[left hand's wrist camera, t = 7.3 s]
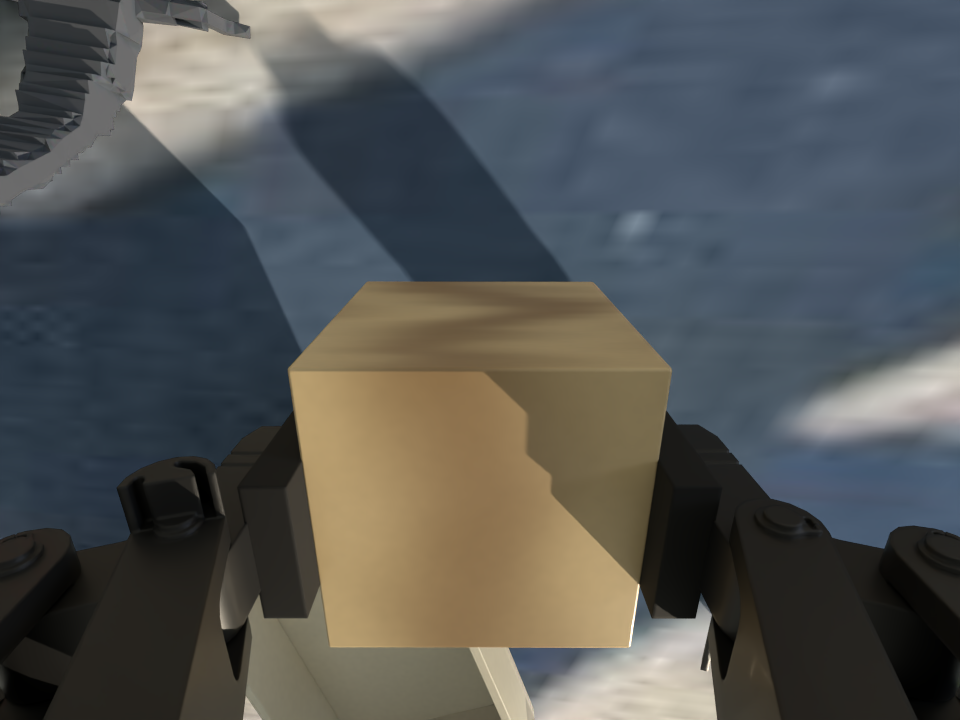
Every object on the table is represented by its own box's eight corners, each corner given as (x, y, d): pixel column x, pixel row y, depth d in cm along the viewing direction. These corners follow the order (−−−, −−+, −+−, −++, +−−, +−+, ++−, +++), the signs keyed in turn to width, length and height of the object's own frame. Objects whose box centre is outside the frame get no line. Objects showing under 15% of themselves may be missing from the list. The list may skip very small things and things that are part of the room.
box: (211, 508, 34) (80, 675, 23) (425, 446, 33) (397, 593, 21) (357, 748, 43) (314, 956, 31) (533, 708, 41) (554, 912, 30)
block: (593, 281, 13) (673, 368, 8) (577, 474, 16) (631, 649, 10) (366, 281, 13) (285, 368, 8) (381, 474, 16) (327, 648, 10)
